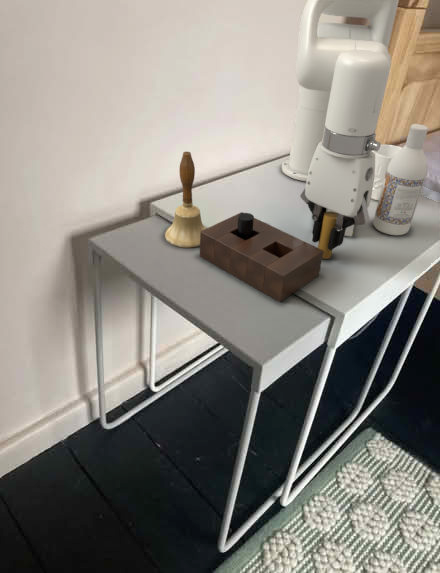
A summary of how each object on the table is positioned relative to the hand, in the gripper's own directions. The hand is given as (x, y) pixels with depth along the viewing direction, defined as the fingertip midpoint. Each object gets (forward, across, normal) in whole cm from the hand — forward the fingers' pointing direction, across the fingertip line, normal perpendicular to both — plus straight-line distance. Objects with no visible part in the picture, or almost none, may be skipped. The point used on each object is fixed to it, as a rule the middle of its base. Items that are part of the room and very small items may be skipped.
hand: (326, 242), depth 86 cm
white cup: (+3, +6, -31) cm, 32 cm away
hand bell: (+3, +21, +13) cm, 25 cm away
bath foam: (+3, -3, -19) cm, 19 cm away
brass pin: (+3, 0, 0) cm, 3 cm away
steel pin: (+3, +10, +11) cm, 15 cm away
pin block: (+3, +6, +11) cm, 13 cm away
